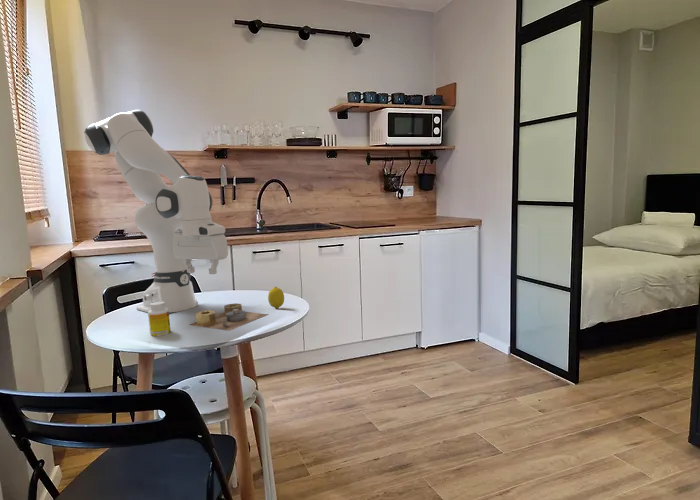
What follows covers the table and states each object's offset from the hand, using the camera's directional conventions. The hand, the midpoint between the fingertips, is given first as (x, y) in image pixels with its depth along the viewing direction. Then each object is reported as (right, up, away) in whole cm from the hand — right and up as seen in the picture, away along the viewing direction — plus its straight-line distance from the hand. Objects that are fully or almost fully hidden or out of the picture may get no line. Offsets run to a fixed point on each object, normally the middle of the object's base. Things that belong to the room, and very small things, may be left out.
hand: (201, 273), depth 141 cm
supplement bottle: (-10, -19, -7) cm, 22 cm away
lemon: (+20, -14, +19) cm, 31 cm away
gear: (+1, -15, +2) cm, 16 cm away
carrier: (+8, -16, +4) cm, 18 cm away
